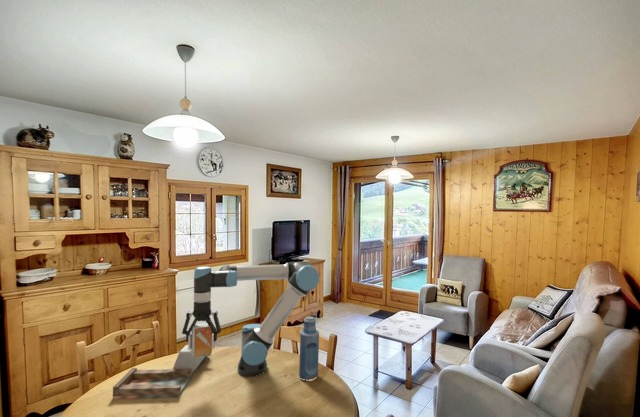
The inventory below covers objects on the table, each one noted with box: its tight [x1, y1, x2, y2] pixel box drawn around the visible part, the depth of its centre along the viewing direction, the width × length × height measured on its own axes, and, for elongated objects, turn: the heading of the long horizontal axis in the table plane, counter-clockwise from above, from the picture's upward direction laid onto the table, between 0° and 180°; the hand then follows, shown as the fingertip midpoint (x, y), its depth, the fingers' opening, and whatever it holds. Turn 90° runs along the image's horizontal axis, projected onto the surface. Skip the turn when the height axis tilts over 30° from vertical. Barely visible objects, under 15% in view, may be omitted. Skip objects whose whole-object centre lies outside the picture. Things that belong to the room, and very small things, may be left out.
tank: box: [172, 344, 212, 375], centre depth 172 cm, size 25×16×12 cm, turn 2°
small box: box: [191, 322, 213, 357], centre depth 150 cm, size 8×6×13 cm
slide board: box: [112, 367, 192, 400], centre depth 149 cm, size 28×17×5 cm, turn 95°
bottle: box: [298, 315, 320, 380], centre depth 162 cm, size 10×10×30 cm
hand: (201, 348), depth 150 cm, fingers closed on small box, 10 cm apart
